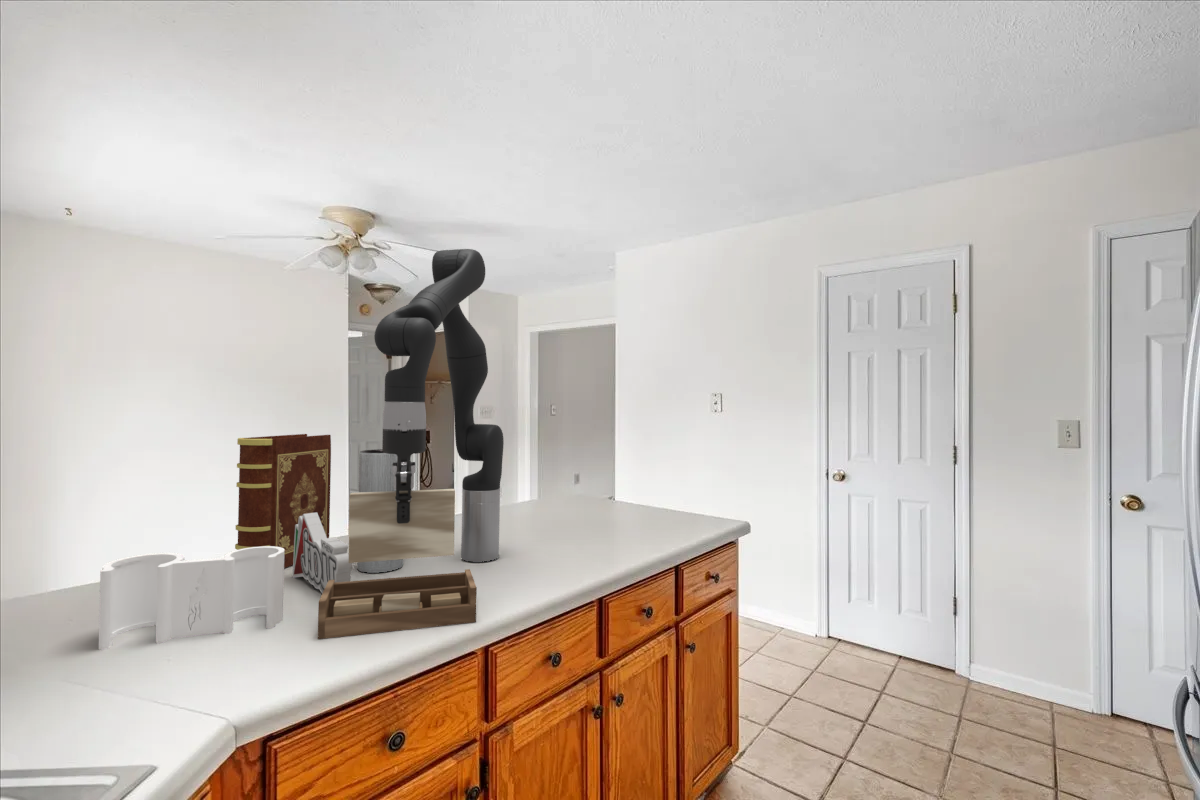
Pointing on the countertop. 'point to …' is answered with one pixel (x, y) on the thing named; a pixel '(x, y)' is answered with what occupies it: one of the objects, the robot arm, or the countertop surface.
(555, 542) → the countertop surface
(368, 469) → the vase
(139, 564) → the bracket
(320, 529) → the decorative sign
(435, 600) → the offcut
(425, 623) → the rack
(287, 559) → the decorative book
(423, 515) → the sheet
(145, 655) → the countertop surface
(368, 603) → the offcut
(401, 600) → the upper offcut
